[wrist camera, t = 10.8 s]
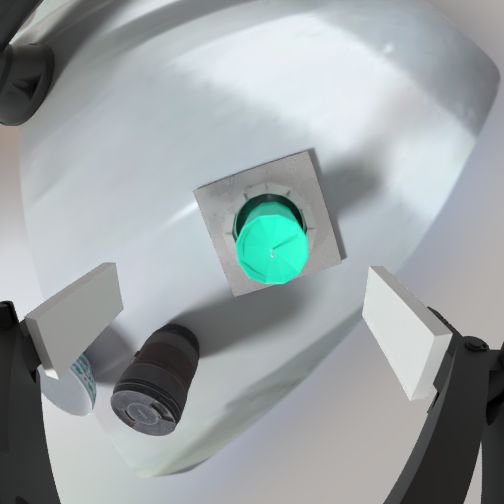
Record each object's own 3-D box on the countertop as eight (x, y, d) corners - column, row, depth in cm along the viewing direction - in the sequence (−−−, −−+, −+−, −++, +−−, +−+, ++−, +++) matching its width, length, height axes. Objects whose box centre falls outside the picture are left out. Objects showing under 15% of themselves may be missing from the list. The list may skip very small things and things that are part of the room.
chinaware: (61, 381, 45) (43, 402, 37) (40, 320, 41) (15, 339, 33) (119, 399, 44) (102, 426, 37) (99, 335, 40) (75, 360, 33)
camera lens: (173, 371, 41) (141, 441, 26) (142, 331, 39) (95, 395, 25) (215, 355, 39) (192, 432, 25) (183, 311, 38) (142, 381, 23)
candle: (249, 197, 32) (238, 210, 21) (301, 206, 32) (319, 224, 20) (241, 247, 34) (227, 286, 22) (291, 256, 34) (302, 298, 22)
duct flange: (194, 190, 33) (187, 192, 30) (306, 151, 31) (310, 149, 28) (234, 294, 36) (232, 304, 33) (340, 261, 34) (346, 268, 31)
